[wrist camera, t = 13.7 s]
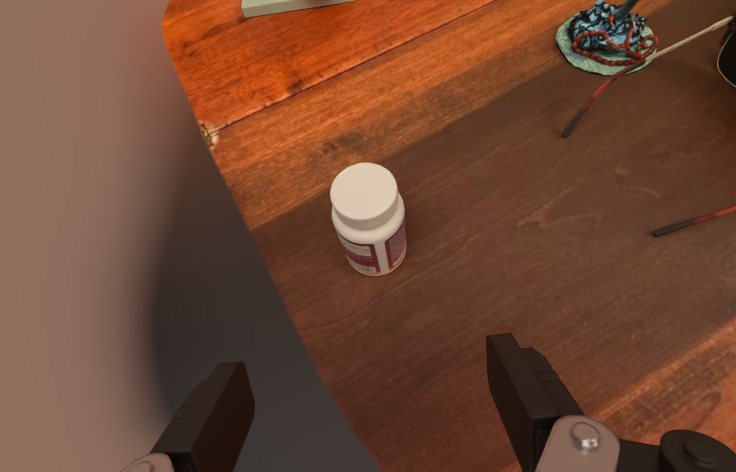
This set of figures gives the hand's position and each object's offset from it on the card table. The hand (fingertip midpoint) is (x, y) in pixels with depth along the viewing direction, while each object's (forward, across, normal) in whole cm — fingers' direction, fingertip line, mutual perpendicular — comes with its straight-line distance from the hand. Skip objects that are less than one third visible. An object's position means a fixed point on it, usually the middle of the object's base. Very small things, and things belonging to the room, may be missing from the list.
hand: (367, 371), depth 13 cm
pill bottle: (+18, 0, -2) cm, 18 cm away
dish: (+31, +24, +11) cm, 41 cm away
